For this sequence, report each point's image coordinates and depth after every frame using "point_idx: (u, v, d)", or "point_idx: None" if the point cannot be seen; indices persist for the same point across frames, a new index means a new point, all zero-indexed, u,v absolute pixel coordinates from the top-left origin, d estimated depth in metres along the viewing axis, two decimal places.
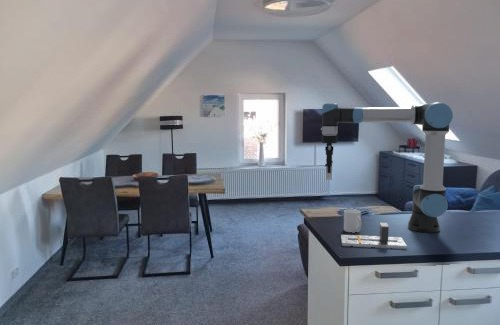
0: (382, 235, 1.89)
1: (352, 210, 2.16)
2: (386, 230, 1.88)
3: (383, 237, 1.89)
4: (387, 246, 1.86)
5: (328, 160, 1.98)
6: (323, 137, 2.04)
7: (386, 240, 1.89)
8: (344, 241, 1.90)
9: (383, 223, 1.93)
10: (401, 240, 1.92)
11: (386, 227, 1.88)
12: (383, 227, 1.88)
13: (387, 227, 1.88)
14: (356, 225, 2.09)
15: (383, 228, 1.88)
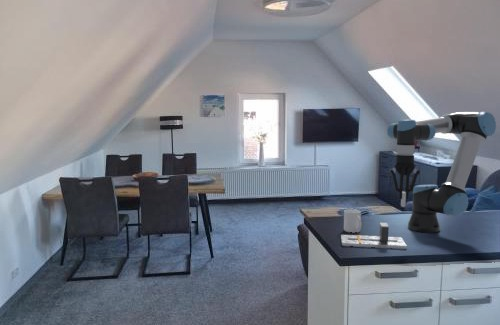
0: (382, 235, 1.89)
1: (352, 210, 2.16)
2: (386, 230, 1.88)
3: (383, 237, 1.89)
4: (387, 246, 1.86)
5: (394, 185, 1.89)
6: None
7: (386, 240, 1.89)
8: (344, 241, 1.90)
9: (383, 223, 1.93)
10: (401, 240, 1.92)
11: (386, 227, 1.88)
12: (383, 227, 1.88)
13: (387, 227, 1.88)
14: (356, 225, 2.09)
15: (383, 228, 1.88)
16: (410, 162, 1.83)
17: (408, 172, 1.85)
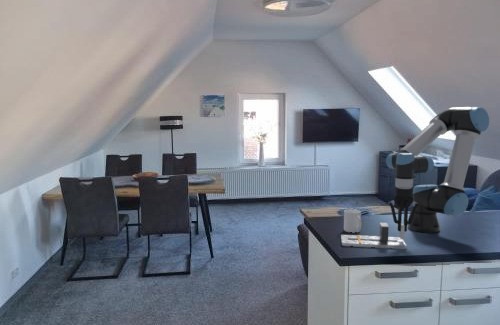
0: (382, 235, 1.89)
1: (352, 210, 2.16)
2: (386, 230, 1.88)
3: (383, 237, 1.89)
4: (387, 246, 1.86)
5: (393, 217, 1.91)
6: None
7: (386, 240, 1.89)
8: (344, 241, 1.90)
9: (383, 223, 1.93)
10: (401, 240, 1.92)
11: (386, 227, 1.88)
12: (383, 227, 1.88)
13: (387, 227, 1.88)
14: (356, 225, 2.09)
15: (383, 228, 1.88)
16: (409, 196, 1.85)
17: (407, 205, 1.87)
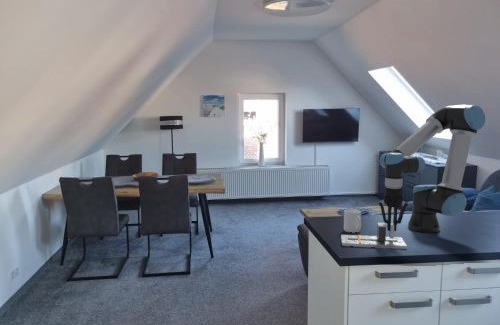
0: (379, 235, 1.89)
1: (352, 210, 2.16)
2: (383, 230, 1.89)
3: (381, 237, 1.89)
4: (387, 246, 1.86)
5: None
6: None
7: (383, 240, 1.89)
8: (344, 241, 1.90)
9: (381, 223, 1.93)
10: (401, 240, 1.92)
11: (383, 227, 1.88)
12: (380, 227, 1.89)
13: (384, 227, 1.88)
14: (356, 225, 2.09)
15: (380, 228, 1.89)
16: (398, 196, 1.85)
17: (396, 205, 1.87)
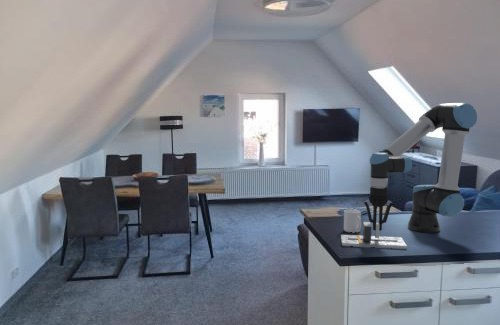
0: (365, 234, 1.90)
1: (352, 210, 2.16)
2: (369, 229, 1.90)
3: (366, 236, 1.90)
4: (387, 246, 1.86)
5: (368, 216, 1.92)
6: None
7: (369, 239, 1.90)
8: (344, 241, 1.90)
9: (366, 222, 1.94)
10: (401, 240, 1.92)
11: (369, 226, 1.89)
12: (366, 226, 1.90)
13: (370, 226, 1.89)
14: (356, 225, 2.09)
15: (366, 227, 1.90)
16: (383, 195, 1.86)
17: (381, 204, 1.89)
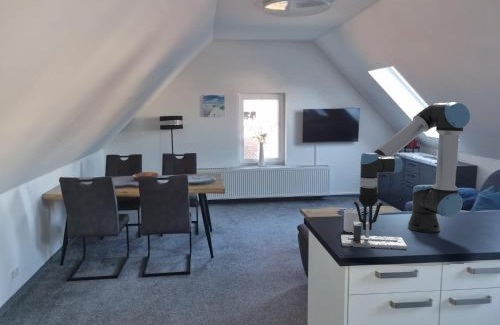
0: (355, 234, 1.91)
1: (352, 210, 2.16)
2: (359, 229, 1.90)
3: (356, 236, 1.91)
4: (387, 246, 1.86)
5: (358, 216, 1.93)
6: None
7: (359, 239, 1.91)
8: (344, 241, 1.90)
9: (356, 222, 1.95)
10: (401, 240, 1.92)
11: (359, 226, 1.90)
12: (356, 226, 1.90)
13: (360, 226, 1.90)
14: None
15: (356, 227, 1.91)
16: (373, 195, 1.87)
17: (371, 204, 1.89)
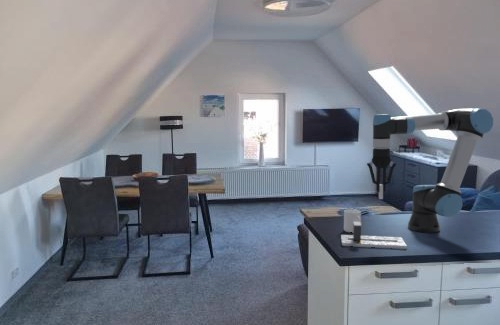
0: (355, 234, 1.91)
1: (352, 210, 2.16)
2: (359, 229, 1.90)
3: (356, 236, 1.91)
4: (387, 246, 1.86)
5: None
6: None
7: (359, 239, 1.91)
8: (344, 241, 1.90)
9: (356, 222, 1.95)
10: (401, 240, 1.92)
11: (359, 226, 1.90)
12: (355, 226, 1.90)
13: (360, 226, 1.90)
14: None
15: (356, 227, 1.91)
16: (386, 156, 1.88)
17: (384, 165, 1.90)
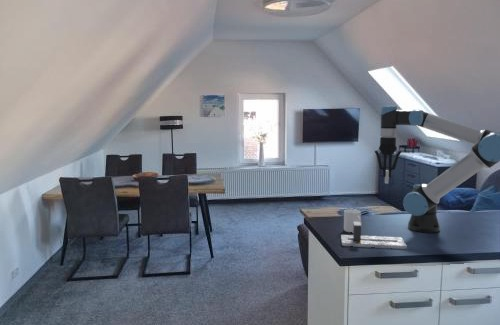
0: (355, 234, 1.91)
1: (352, 210, 2.16)
2: (359, 229, 1.90)
3: (356, 236, 1.91)
4: (387, 246, 1.86)
5: None
6: None
7: (359, 239, 1.91)
8: (344, 241, 1.90)
9: (356, 222, 1.95)
10: (401, 240, 1.92)
11: (359, 226, 1.90)
12: (355, 226, 1.90)
13: (360, 226, 1.90)
14: None
15: (356, 227, 1.91)
16: (392, 144, 2.06)
17: (391, 152, 2.08)
